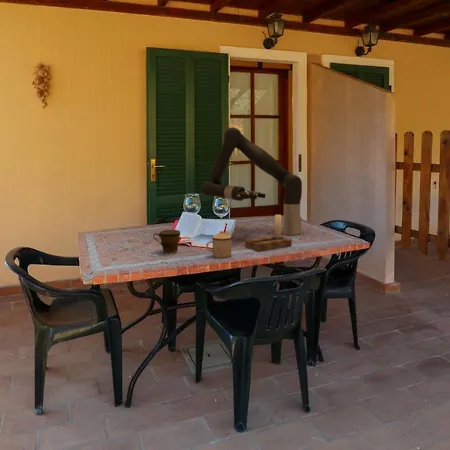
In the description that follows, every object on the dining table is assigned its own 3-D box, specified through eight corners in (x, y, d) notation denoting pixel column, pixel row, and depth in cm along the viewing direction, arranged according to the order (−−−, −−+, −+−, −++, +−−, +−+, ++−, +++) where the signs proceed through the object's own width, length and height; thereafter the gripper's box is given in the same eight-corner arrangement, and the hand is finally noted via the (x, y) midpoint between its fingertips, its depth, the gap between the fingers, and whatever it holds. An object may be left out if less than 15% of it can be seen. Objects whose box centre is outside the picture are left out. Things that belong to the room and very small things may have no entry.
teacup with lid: (228, 252, 221) (228, 228, 219) (234, 257, 212) (234, 232, 210) (204, 254, 217) (203, 230, 215) (209, 259, 209) (208, 234, 207)
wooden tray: (276, 241, 242) (276, 235, 241) (291, 246, 232) (291, 239, 231) (245, 246, 232) (245, 239, 231) (259, 251, 222) (259, 244, 221)
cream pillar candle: (278, 241, 237) (278, 214, 235) (283, 242, 234) (283, 215, 232) (272, 242, 235) (272, 214, 233) (277, 243, 232) (277, 216, 229)
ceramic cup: (181, 249, 228) (180, 229, 226) (180, 254, 218) (179, 233, 216) (155, 249, 227) (154, 229, 226) (152, 254, 218) (151, 234, 216)
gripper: (227, 186, 240) (254, 190, 231) (242, 185, 251) (268, 188, 242) (226, 201, 241) (253, 205, 232) (241, 198, 253) (267, 202, 244)
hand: (260, 196), depth 237 cm, fingers open, 8 cm apart
